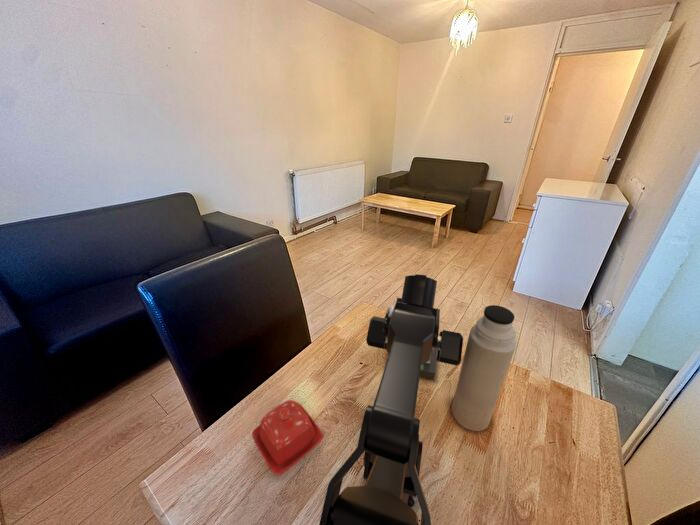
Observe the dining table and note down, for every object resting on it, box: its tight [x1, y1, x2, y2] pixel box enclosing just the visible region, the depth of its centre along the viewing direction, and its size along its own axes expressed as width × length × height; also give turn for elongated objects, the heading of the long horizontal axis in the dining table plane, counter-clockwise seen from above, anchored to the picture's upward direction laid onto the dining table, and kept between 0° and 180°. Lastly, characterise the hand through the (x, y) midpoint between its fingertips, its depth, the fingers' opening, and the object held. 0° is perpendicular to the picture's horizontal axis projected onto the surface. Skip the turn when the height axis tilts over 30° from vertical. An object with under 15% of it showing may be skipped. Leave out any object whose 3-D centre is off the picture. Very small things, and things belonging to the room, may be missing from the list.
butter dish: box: [251, 399, 325, 477], centre depth 57 cm, size 12×12×8 cm
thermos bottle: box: [451, 304, 517, 432], centre depth 57 cm, size 8×8×28 cm
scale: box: [419, 348, 437, 381], centre depth 78 cm, size 12×12×3 cm
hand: (413, 342), depth 66 cm, fingers open, 9 cm apart
